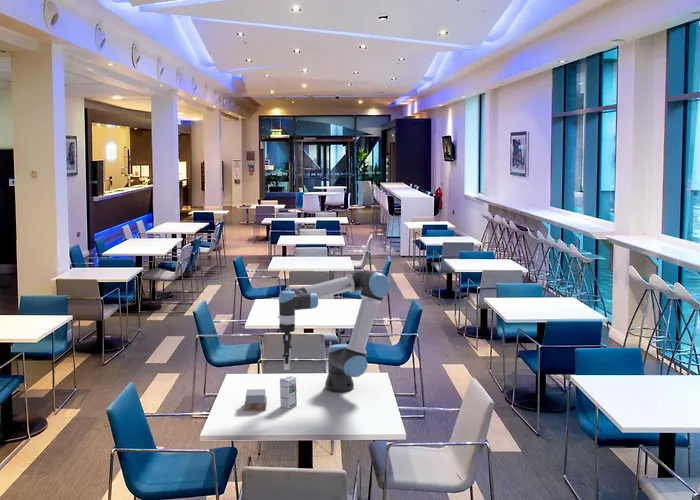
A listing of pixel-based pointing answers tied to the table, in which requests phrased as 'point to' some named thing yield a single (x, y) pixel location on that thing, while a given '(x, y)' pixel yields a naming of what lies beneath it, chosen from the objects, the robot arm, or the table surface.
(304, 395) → the table surface
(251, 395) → the slate top block
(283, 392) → the syrup box
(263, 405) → the walnut base block
